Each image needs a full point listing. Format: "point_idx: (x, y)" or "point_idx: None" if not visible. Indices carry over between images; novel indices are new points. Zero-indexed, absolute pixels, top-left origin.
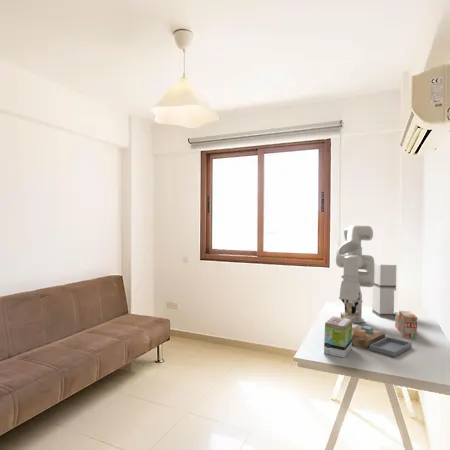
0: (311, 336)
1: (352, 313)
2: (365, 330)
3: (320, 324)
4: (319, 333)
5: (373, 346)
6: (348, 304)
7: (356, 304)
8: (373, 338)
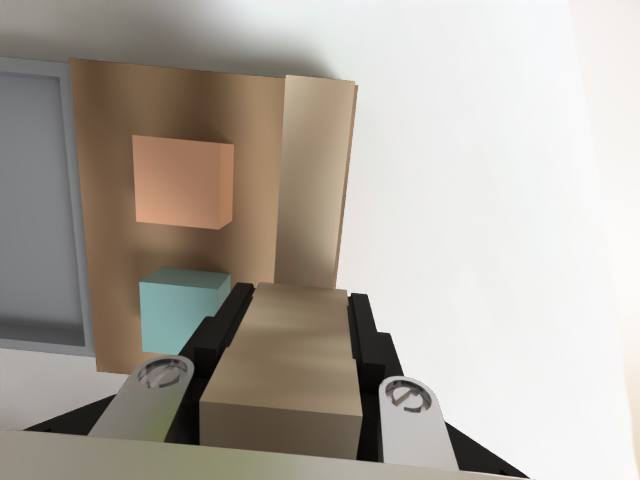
0: (563, 29)
1: (237, 282)
2: (141, 221)
3: (602, 367)
4: (534, 159)
5: (38, 61)
6: (301, 382)
7: (76, 416)
8: (81, 181)
